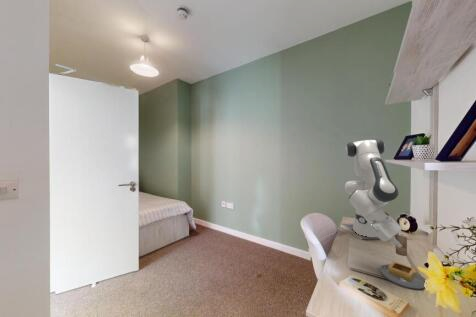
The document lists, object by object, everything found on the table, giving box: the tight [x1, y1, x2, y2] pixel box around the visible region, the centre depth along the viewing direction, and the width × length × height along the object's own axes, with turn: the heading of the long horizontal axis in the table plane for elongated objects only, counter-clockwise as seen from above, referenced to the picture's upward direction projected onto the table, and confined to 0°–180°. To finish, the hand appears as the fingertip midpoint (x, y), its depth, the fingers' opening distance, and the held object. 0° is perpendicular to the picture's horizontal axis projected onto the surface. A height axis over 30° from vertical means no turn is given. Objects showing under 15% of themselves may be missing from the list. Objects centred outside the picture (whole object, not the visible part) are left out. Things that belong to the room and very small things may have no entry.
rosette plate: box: [379, 260, 426, 291], centre depth 85 cm, size 16×16×4 cm
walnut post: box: [394, 235, 408, 257], centre depth 85 cm, size 4×4×8 cm
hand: (402, 245), depth 85 cm, fingers closed on walnut post, 4 cm apart
